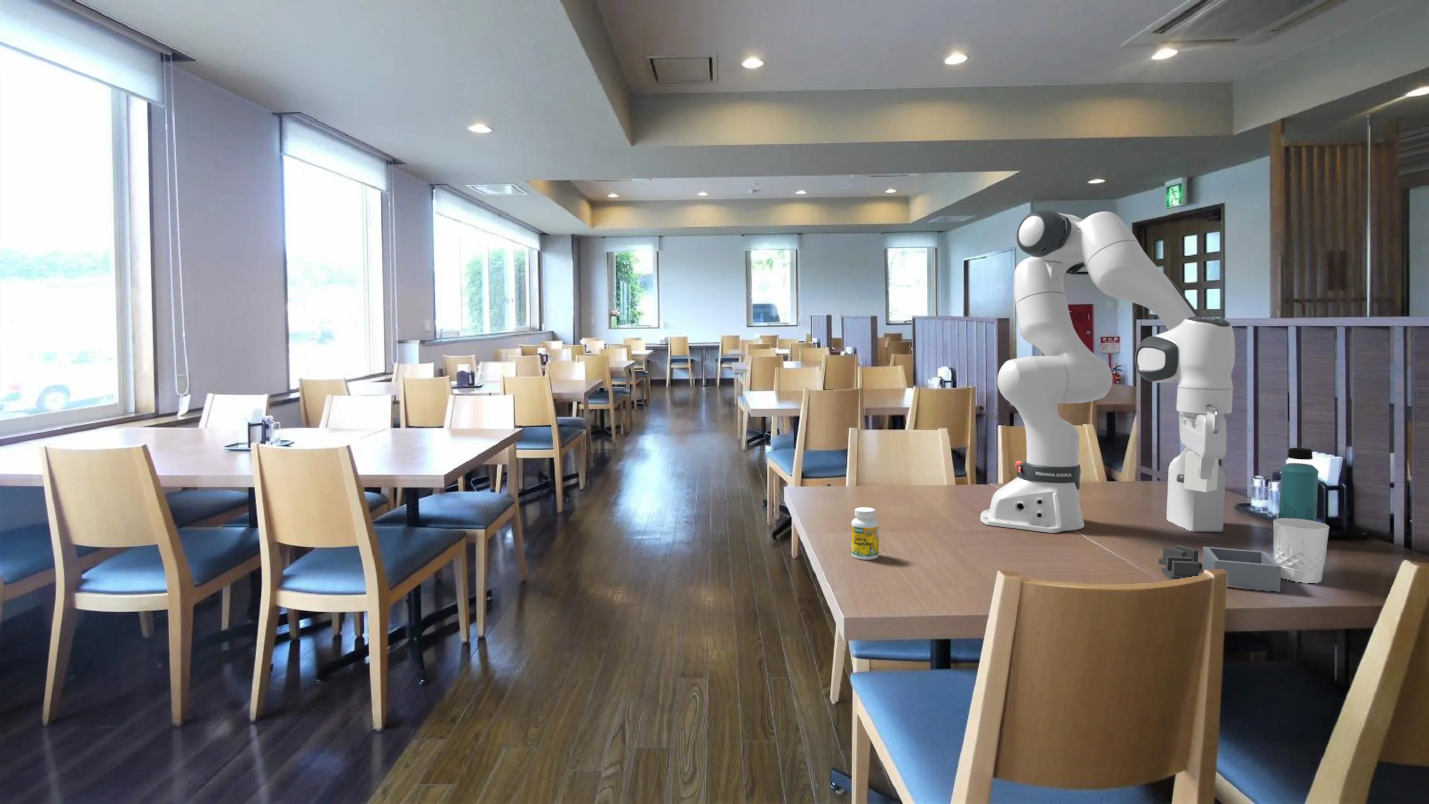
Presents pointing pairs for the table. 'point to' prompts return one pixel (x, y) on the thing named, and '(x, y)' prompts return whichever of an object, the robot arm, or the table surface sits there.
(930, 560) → the table surface
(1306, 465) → the beverage bottle
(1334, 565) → the table surface
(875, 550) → the supplement bottle
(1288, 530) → the white cup
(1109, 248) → the robot arm
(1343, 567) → the table surface
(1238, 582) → the gray square tray
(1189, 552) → the clip
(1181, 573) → the clip
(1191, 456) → the block
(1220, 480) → the soap bottle
